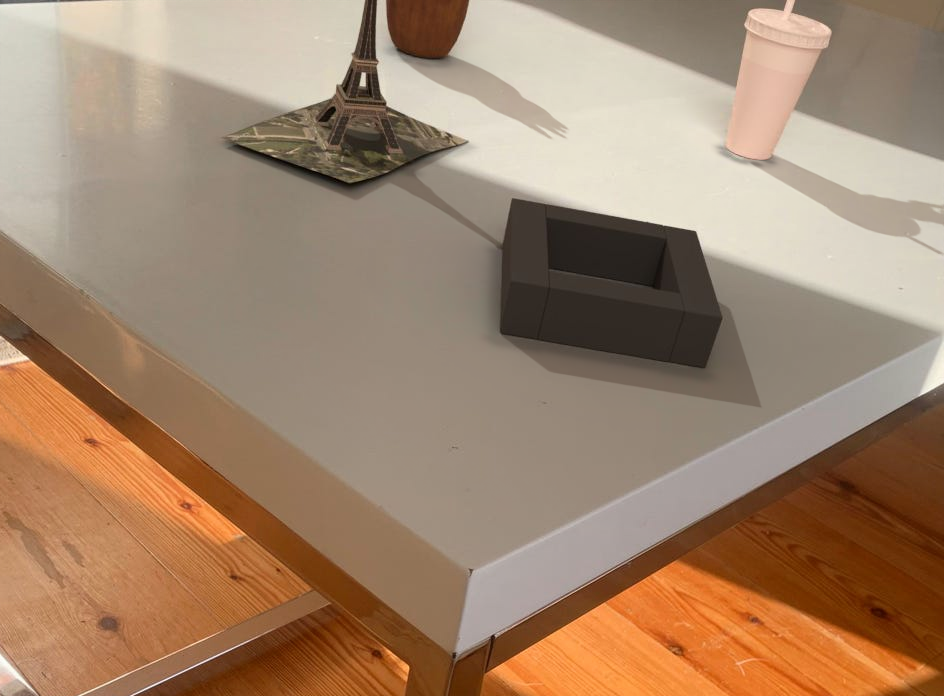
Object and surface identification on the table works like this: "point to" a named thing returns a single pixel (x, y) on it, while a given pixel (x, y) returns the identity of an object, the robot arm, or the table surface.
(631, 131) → the table surface
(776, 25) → the smoothie
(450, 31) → the wooden figurine
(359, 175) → the eiffel tower figurine
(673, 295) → the dark square frame
